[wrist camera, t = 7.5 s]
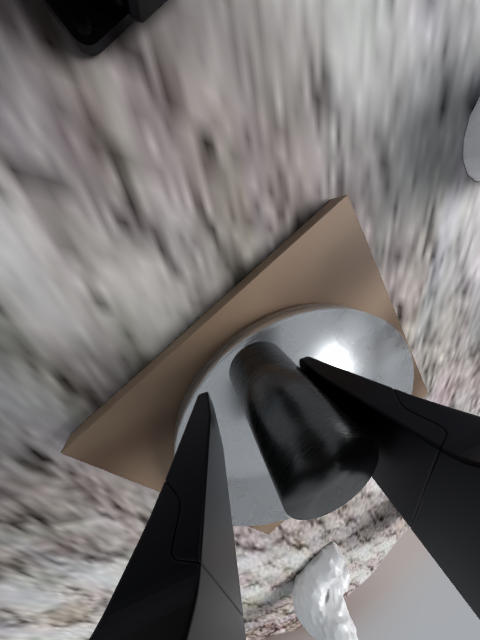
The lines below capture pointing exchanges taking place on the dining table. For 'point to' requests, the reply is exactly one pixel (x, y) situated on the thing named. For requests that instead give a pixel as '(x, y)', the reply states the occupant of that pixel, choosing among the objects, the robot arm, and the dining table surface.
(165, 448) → the walnut board
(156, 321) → the dining table surface
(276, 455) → the handwheel
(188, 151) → the dining table surface
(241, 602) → the robot arm
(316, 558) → the sitting furry creature
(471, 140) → the shot glass
